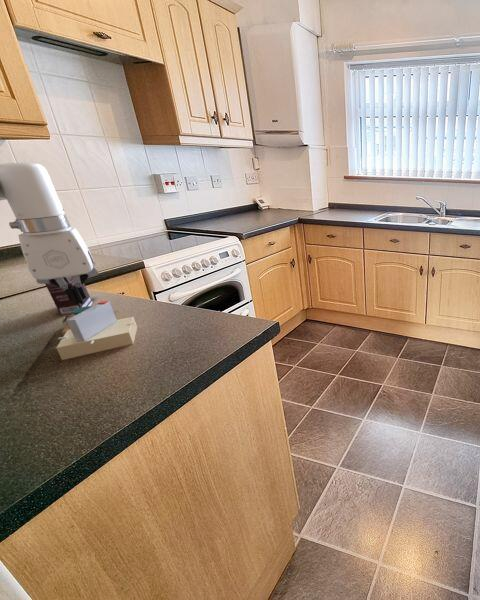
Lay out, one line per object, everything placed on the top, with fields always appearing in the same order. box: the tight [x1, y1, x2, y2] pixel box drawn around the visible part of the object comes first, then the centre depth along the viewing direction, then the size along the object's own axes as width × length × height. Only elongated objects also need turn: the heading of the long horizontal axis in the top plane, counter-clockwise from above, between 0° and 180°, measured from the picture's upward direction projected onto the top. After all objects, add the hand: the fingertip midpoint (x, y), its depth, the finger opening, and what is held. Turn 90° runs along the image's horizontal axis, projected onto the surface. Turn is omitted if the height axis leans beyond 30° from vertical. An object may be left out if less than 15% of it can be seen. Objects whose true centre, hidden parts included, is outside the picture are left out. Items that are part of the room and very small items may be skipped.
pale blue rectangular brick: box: [66, 300, 118, 341], centre depth 73 cm, size 9×2×5 cm, turn 1°
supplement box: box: [45, 276, 94, 319], centre depth 88 cm, size 9×5×16 cm, turn 27°
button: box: [73, 305, 93, 316], centre depth 81 cm, size 4×4×2 cm
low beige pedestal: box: [55, 316, 138, 361], centre depth 75 cm, size 13×13×3 cm
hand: (80, 302), depth 80 cm, fingers closed
